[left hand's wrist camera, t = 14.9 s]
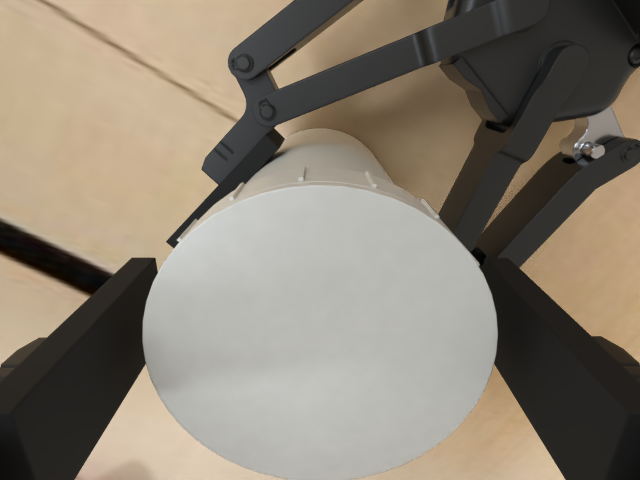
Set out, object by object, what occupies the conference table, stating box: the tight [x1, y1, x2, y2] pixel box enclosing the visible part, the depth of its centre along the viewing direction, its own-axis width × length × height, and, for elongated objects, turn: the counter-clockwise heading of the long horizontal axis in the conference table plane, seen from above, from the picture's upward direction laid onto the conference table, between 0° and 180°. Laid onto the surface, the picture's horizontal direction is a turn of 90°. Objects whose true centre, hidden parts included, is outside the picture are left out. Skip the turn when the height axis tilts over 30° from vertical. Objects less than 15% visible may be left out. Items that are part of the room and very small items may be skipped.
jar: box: [245, 128, 395, 185], centre depth 18 cm, size 8×8×15 cm
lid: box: [143, 165, 498, 480], centre depth 11 cm, size 9×9×2 cm
